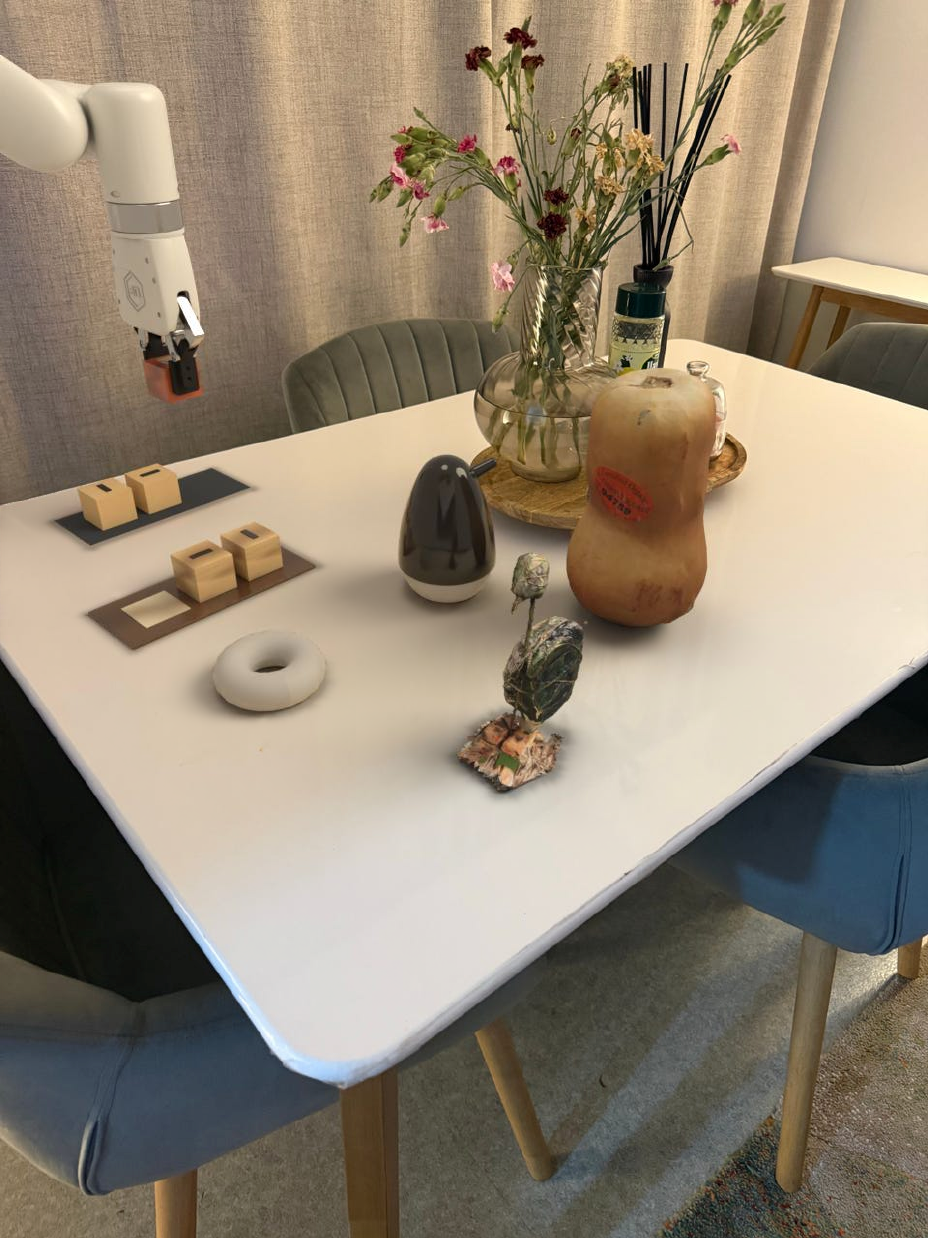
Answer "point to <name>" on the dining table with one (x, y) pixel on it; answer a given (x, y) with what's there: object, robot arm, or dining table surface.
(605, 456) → the butternut squash
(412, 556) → the pump dispenser
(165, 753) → the dining table surface
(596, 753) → the dining table surface
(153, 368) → the red wooden slotted cube
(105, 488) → the slate word
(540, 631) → the plant with pod
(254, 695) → the donut
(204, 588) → the walnut word
